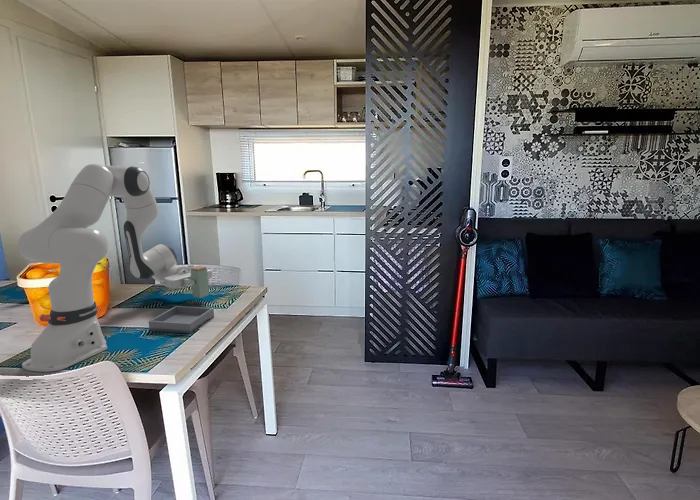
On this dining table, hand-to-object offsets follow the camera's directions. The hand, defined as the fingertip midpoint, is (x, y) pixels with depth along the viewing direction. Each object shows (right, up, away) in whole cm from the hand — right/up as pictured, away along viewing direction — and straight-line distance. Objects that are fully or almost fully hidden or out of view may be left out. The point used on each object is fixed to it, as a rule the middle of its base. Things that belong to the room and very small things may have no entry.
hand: (201, 280), depth 165 cm
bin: (0, -15, -17) cm, 22 cm away
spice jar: (-1, -6, +2) cm, 7 cm away
